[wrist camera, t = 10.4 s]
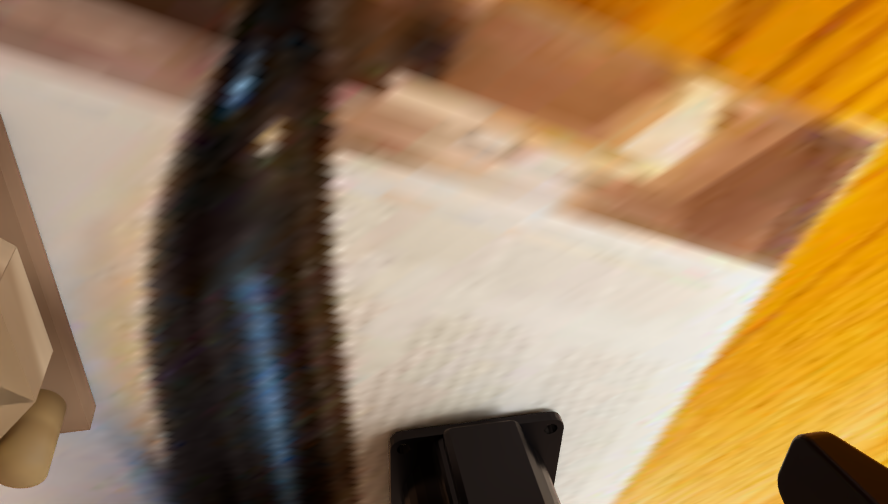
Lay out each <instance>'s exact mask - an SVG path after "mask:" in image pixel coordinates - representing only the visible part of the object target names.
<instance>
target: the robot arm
mask: <svg viewBox="0 0 888 504" xmlns="http://www.w3.org/2000/svg"><path fill="white" fill-rule="evenodd" d="M563 429H564V425H563V422H562V419H561V417H560V415H559V414H558V413H556V412H543V413H535V414H527V415H520V416H512V417H504V418H497V419H489V420H482V421H474V422H466V423H459V424H451V425H444V426H436V427H428V428H421V429H413V430H405V431H400V432H397V433H395V434H393V435H392V436H391V437H390V439H389V490H390V504H561V503H560V501H559V498H558V496H557V493H556V491H555V488H554V482H555V476H556V470H557V464H558V458H559V452H560V447H561V441H562V435H563ZM403 444H405V445H403ZM778 488H779V492H780V495H781V497H782V500H783V502H784V504H888V468H887V467H885V466H883V465H882V464H880V463H879V462H877V461H875V460H874V459H872V458H871V457H869V456H867V455H866V454H864V453H863V452H861V451H859V450H858V449H856V448H855V447H853V446H851V445H850V444H848V443H847V442H845V441H843V440H842V439H840V438H839V437H837V436H835V435H833V434H831V433H829V432H822V431H820V432H813V433H806V434H800V435H798V436H796V437H795V438H794V439H793V441H792V443H791V445H790V447H789V450H788V452H787V454H786V457H785V459H784V461H783V464H782V466H781V468H780V471H779V474H778Z"/></svg>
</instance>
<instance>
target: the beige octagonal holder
mask: <svg viewBox="0 0 888 504" xmlns="http://www.w3.org/2000/svg"><path fill="white" fill-rule="evenodd" d="M95 407H96V405H95V402H94V399H93V396H92V393H91V390H90V387H89V384H88V380H87V377H86V374H85V371H84V368H83V365H82V362H81V359H80V356H79V353H78V350H77V347H76V344H75V341H74V338H73V335H72V332H71V328H70V325H69V322H68V319H67V316H66V313H65V310H64V307H63V304H62V301H61V298H60V295H59V292H58V289H57V286H56V283H55V280H54V276H53V273H52V270H51V267H50V264H49V261H48V258H47V255H46V252H45V249H44V246H43V243H42V240H41V237H40V234H39V231H38V228H37V224H36V221H35V218H34V215H33V212H32V209H31V206H30V203H29V200H28V197H27V194H26V191H25V188H24V185H23V182H22V179H21V176H20V172H19V169H18V166H17V163H16V160H15V157H14V154H13V151H12V148H11V145H10V142H9V139H8V136H7V133H6V130H5V127H4V124H3V120H2V117H1V114H0V484H2V485H4V486H7V487H12V488H29V487H33V486H36V485H38V484H40V483H41V482H43V481H44V480H45V479H46V477H47V475H48V471H49V468H50V465H51V461H52V458H53V454H54V451H55V447H56V444H57V440H58V437H59V434H60V433H67V432H75V431H83V430H90V428H91V424H92V420H93V416H94V412H95Z"/></svg>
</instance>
